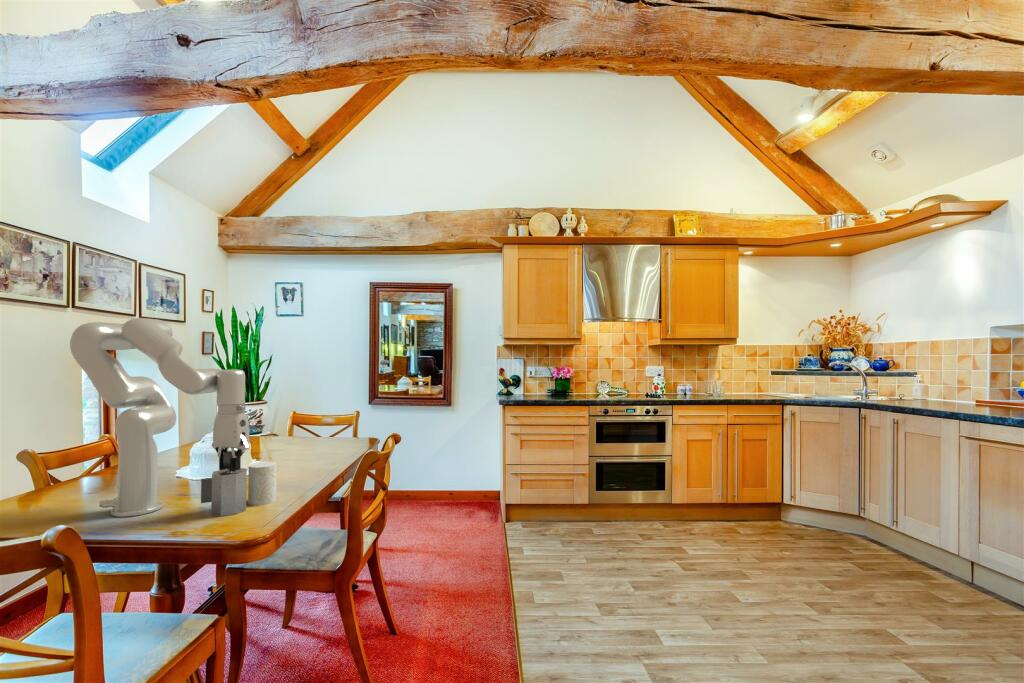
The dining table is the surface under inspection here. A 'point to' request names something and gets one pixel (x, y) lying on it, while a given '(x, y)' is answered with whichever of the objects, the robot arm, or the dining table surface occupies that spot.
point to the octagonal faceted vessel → (225, 492)
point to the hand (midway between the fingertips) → (229, 469)
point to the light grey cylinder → (262, 483)
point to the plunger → (227, 460)
